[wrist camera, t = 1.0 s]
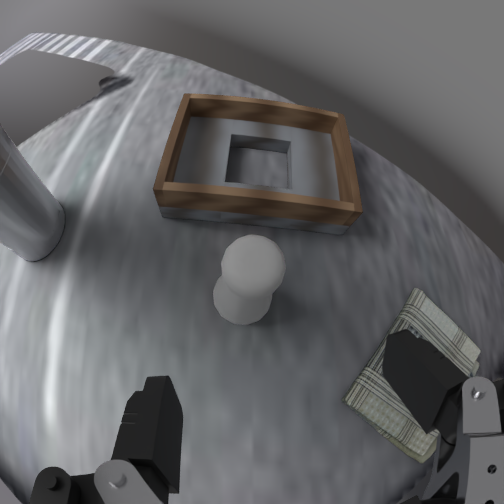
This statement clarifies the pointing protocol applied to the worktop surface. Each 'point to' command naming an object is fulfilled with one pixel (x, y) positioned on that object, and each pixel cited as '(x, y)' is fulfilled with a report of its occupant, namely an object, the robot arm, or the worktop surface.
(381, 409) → the dish towel
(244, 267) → the salt shaker
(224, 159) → the bore box
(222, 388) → the worktop surface
